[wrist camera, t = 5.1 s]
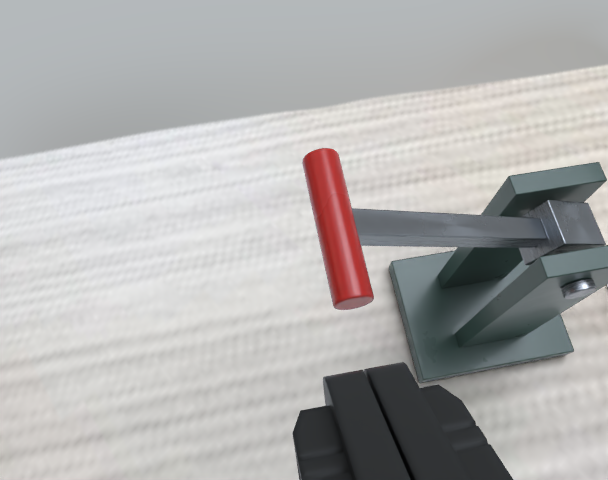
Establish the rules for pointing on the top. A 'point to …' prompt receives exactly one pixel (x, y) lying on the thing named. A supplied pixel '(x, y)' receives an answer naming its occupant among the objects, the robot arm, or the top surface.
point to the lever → (426, 230)
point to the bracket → (499, 288)
